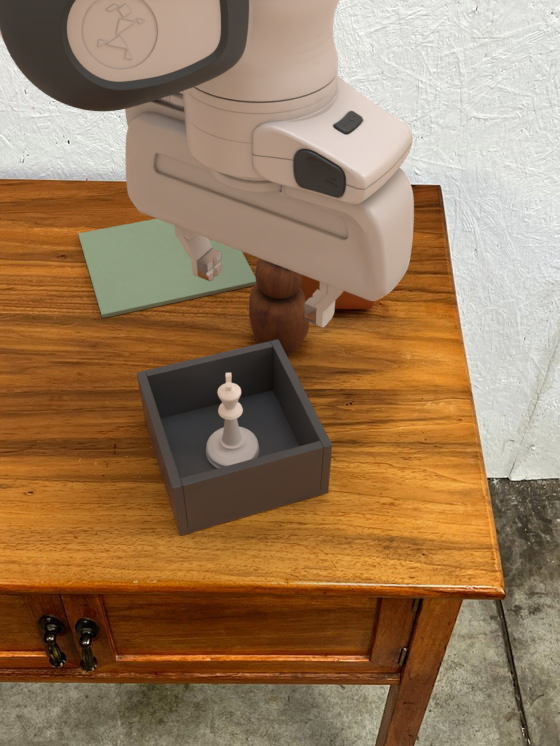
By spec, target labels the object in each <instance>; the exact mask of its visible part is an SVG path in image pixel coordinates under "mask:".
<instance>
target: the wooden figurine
mask: <svg viewBox="0 0 560 746" xmlns="http://www.w3.org/2000/svg"><path fill="white" fill-rule="evenodd" d="M254 275H255V277H256V285H255V286H252V288H251V291H250V293H249V301H248V317H249V321H250V323H249V324H250V327H251V331H252V333H253V337H254V340H255V342H256V344H260V343H265V342H269V341H270V342H271V341H273V340H277V339H278V340H279V342H280V344H281V345H282V347H283V349H284V351H285V353H286V355H287V356H288V355H290V354H292V353H294V352H296V351H297V350H298V349H299V348H300V346H301V345H302V344H303V342H304V341H305V339H306V337H307V334H308V332H309V329H310V322H308V321H306V320H304V315H305V314H306V313H305V311H304V303H305V302H306V299H305V296H304V293H303V291H302V290H301V288H300V287H301V283H302V274H299V273H297V272H294V271H291V270H289V269H286V268H284V267H281V266H278V265H276V264H273V263H271V262H268V261H265V260H263V259H260V258H258V259H257V263H256V266H255V273H254Z"/></svg>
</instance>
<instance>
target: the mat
mask: <svg viewBox="0 0 560 746" xmlns="http://www.w3.org/2000/svg"><path fill="white" fill-rule="evenodd" d="M77 236H78V239H79V243H80V246H81V249H82V253H83V256H84V257H83V258H84V260H85V264H86V267H87V271H88V274H89V277H90V281H91V284H92V287H93V291H94V295H95V298H96V302H97V305H98V309H99V312H100V315H101V318H102V319H106V318H110V317H115V316H120V315H125V314H129V313H134V312H138V311H142V310H148V309H152V308H157V307H162V306H166V305H167V306H168V305H170V304H171V305H172V304H176V303H180V302H185V301H189V300H193V299H199V298H203V297H204V298H205V297H208V296H213V295H218V294H222V293H227V292H231V291H236V290H241V289H244V288H250V287H254V286H255V285H256V276H255V273H254V272H253V269H252V268H251V266H250V264H249V262H248V260H247V258H246V256H245V254H244V252H242V251H240V250H237V249H234V248H232V247H229V246H227V245H224V244H221V243H219V242H216V241H214V240H211V239H209V241H210V243H211V246H212V248H213V249H216V250H218V251H221V255H222V259H221V260H220V261H221V263H222V270H221V272H220V274H219V275H218V276H214V279H213V280H212V281H208V280H205V279H203V278H200V277H198V276H195V275H193V273H192V263H191V257H189V255H188V254H187V252H186V251H185V249H184V247H183V246H182V244H181V243H180V241H179V239H178V238H177V236H176V235H175V226H174V225H172V224H169V223H167V222H164V221H162V220H159V219H156V218H152V219H147V220H142V221H135V222H131V223H126V224H125V223H124V224H120V225H115V226H111V227H110V226H109V227H105V228H99V229H95V230H88V231H83V232H79V233H77Z"/></svg>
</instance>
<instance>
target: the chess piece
mask: <svg viewBox="0 0 560 746" xmlns="http://www.w3.org/2000/svg"><path fill="white" fill-rule="evenodd" d="M231 377H232V376H231V373H226V383H225V384H223V385H221V386H220V387H219V389H218V396H219V398H220V400H221V401H222V403H221V405H220V406H219V409H218V413H219V415H220V416H221V417H222V418H224V419H225V423H224V427H223V428H221V429H219V430H217V431H215V432H214V433H213V434H212V435H211V436H210V437H209V439H208V441H207V445H206V456H207V459H208V460H209V462H210V463H211V464H212V465H213V466H214V467H216V468H221V467H225V466H229V465H232V464H236V463H240V462H243V461H247V460H251V459H254V458H258V455H259V444H258V440H257V438H256V436H255V435H254V434H253V433H252V432H251V431H249V430H248V429H246V428H243V427H239V426H238V421H237V418H238V417H240V416H241V414H242V412H243V408H242V406H241V404H240V403H239V402H238V400H239V398H240V395H241V388H240V387H239V386H238V385H237V384H234V383H231Z"/></svg>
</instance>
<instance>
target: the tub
mask: <svg viewBox="0 0 560 746" xmlns="http://www.w3.org/2000/svg"><path fill="white" fill-rule="evenodd" d="M226 373H231V376H232V377H231V383H234V384H237V385H238V386H239V387H240V388H241V395H240V398H239V400H238V402H239V403H240V404H241V406H242V408H243V412H242V414H241V416H240V417H238V418H237V421H238V426H239V427H243V428H246V429H248V430H249V431H251V432H252V433H253V434H254V435H255V436H256V438H257V440H258V444H259V455H258V458H254V459H251V460H247V461H243V462H240V463H236V464H232V465H229V466H225V467H221V468H216V467H214V466H213V465H212V464H211V463H210V462H209V460H208V459H207V456H206V445H207V441H208V439H209V437H210V436H211V435H212V434H213V433H214V432H215V431H217V430H219V429H221V428H223V427H224V423H225V419H224V418H222V417H221V416H220V415H219V413H218V409H219V406H220V405H221V403H222V401H221V400H220V398H219V396H218V389H219V387H220V386H221V385H223V384H225V383H226ZM136 378H137V379H136V380H137V384H138V390H139V395H140V401H141V407H142V412H143V417H144V423H145V426H146V430H147V433H148V436H149V439H150V442H151V446H152V449H153V452H154V453H153V454H154V456H155V459H156V462H157V467H158V470H159V473H160V476H161V479H162V482H163V486H164V488H165V492H166V496H167V498H168V499H167V500H168V502H169V505H170V508H171V512H172V516H173V518H174V522H175V526H176V528H177V531H178V535H179V536H180V537H182V536H184V535H188V534H191V533H195V532H198V531H201V530H205V529H209V528H213V527H215V526H220V525H223V524H226V523H229V522H233V521H237V520H239V519H243V518H247V517H251V516H253V515H257V514H260V513H264V512H268V511H272V510H274V509H278V508H281V507H285V506H288V505H292V504H295V503H299V502H302V501H306V500H309V499H312V498H316V497H319V496H322V495H326V494H329V486H330V474H331V464H332V463H331V462H332V452H333V443H332V442H331V440H330V438H329V436H328V434H327V432H326V429H325V428H324V426H323V424H322V422H321V420H320V418H319V415H318V414H317V412H316V409H315V408H314V406H313V404H312V402H311V400H310V399H309V396H308V394H307V393H306V390H305V389H304V387H303V385H302V383H301V381H300V379H299V377H298V375H297V373H296V371H295V369H294V367H293V365H292V363H291V361H290V359H289V357H288V354H287V355H286V353H285V351H284V349H283V347H282V345H281V344H280V342H279V340H278V339H277V340H273V341H271V342H270V341H269V342H265V343H260V344H257V343H256V344H253V345H249V346H248V345H247V346H243V347H239V348H236V349H231V350H227V351H223V352H218V353H214V354H209V355H205V356H201V357H197V358H192V359H188V360H184V361H180V362H175V363H172V364H167V365H162V366H159V367H155V368H149V369H146V370H142V371H136Z"/></svg>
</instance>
